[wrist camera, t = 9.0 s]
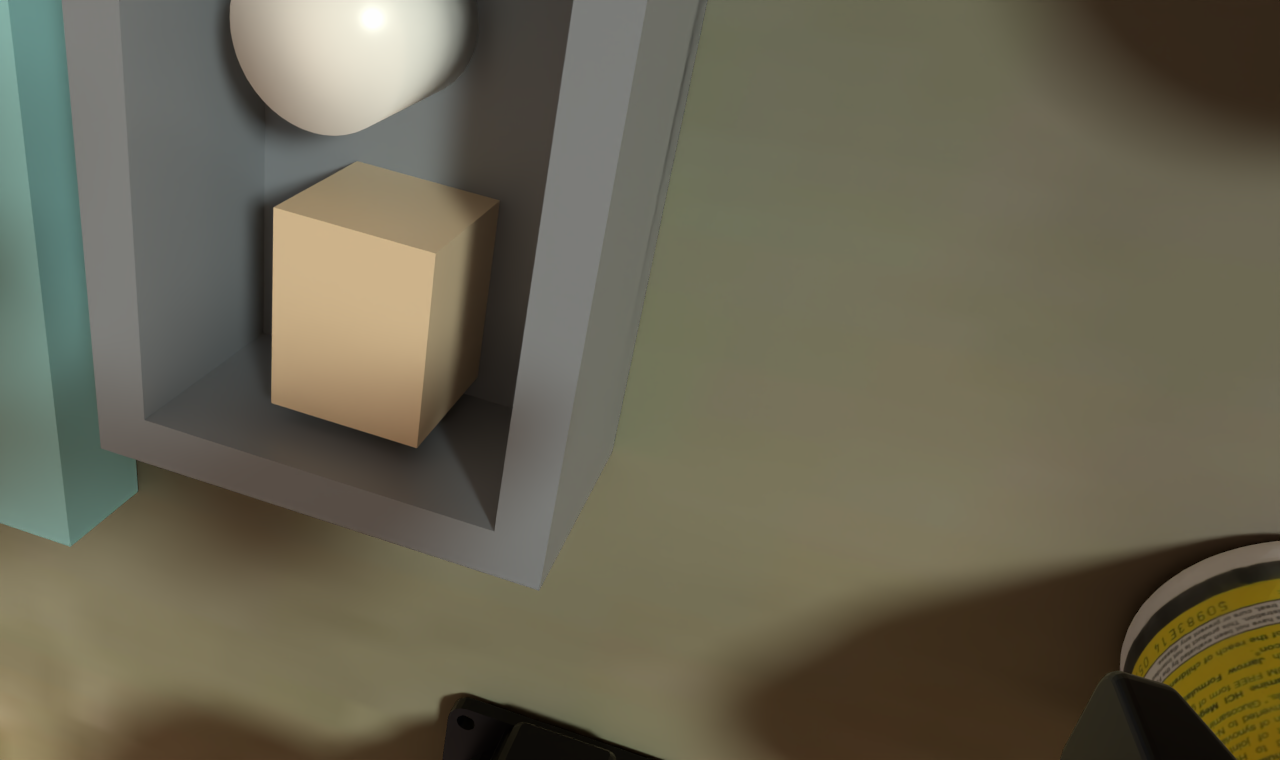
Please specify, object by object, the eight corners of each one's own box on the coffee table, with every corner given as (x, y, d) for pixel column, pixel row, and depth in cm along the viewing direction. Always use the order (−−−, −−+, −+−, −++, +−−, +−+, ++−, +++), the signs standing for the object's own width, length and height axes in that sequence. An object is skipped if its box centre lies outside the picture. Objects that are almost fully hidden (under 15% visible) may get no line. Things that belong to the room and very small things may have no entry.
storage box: (612, 451, 23) (539, 590, 19) (248, 340, 24) (101, 448, 20) (736, -137, 17) (671, -130, 13) (247, -246, 18) (37, -274, 14)
